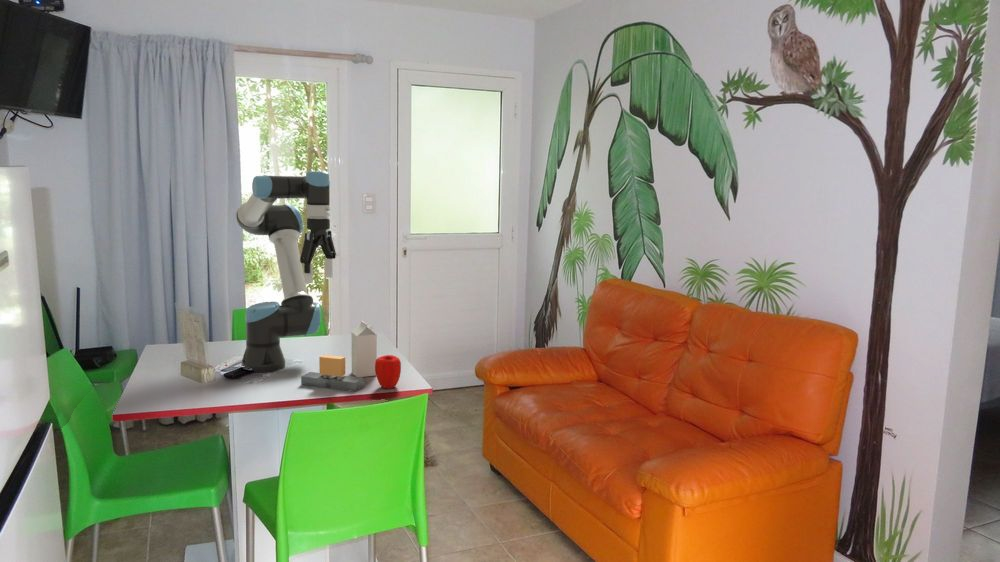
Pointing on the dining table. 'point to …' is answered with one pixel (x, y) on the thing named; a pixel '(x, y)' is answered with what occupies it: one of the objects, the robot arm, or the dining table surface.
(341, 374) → the clip
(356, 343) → the milk carton
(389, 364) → the apple
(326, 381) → the grey flat block
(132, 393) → the dining table surface
